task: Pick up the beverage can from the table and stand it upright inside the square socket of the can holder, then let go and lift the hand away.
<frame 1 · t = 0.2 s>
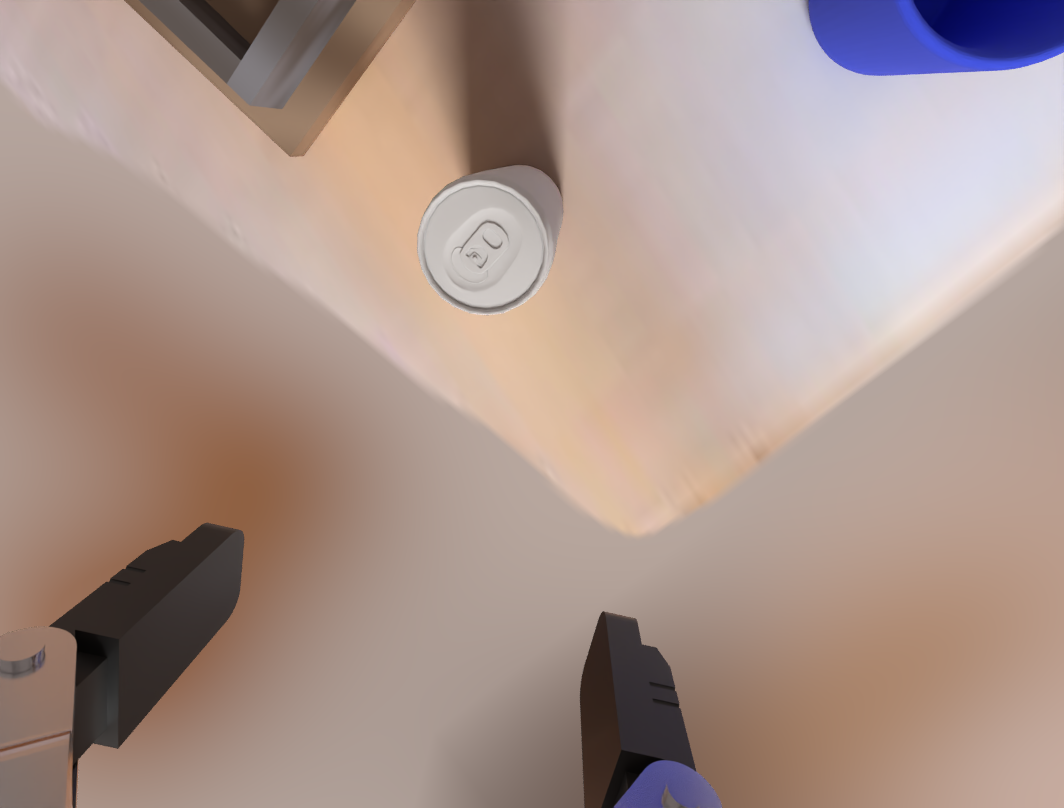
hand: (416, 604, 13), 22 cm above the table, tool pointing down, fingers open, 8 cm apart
beverage can: (519, 212, 31), on the table
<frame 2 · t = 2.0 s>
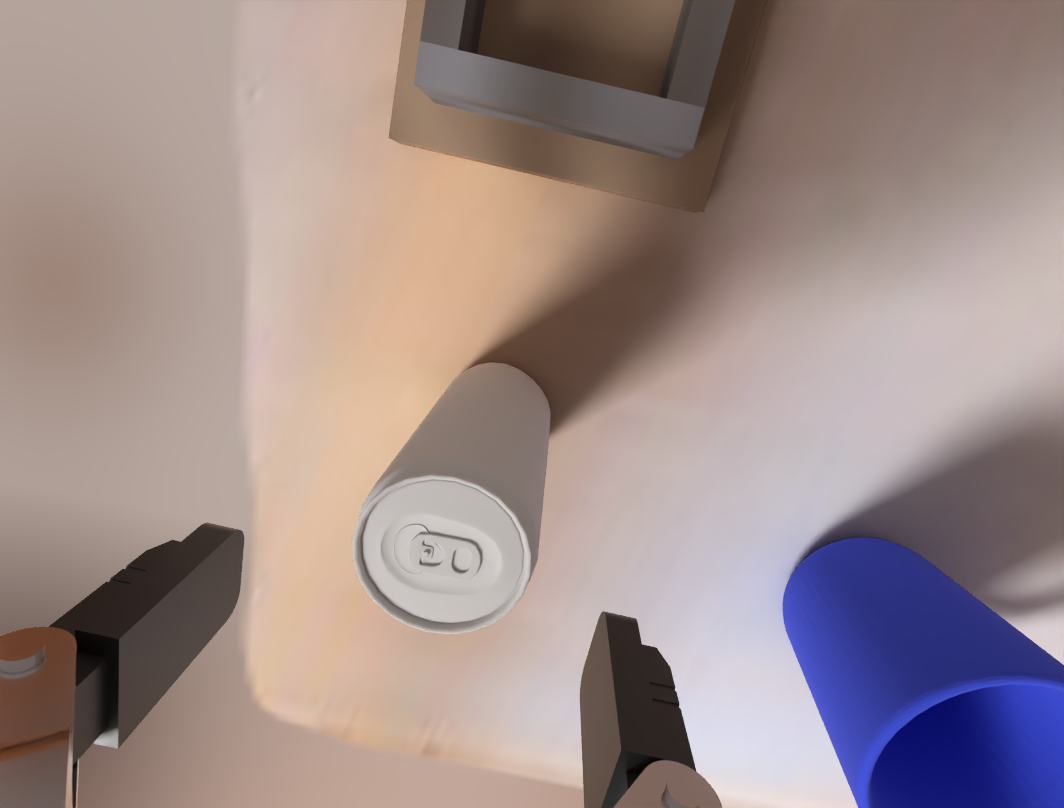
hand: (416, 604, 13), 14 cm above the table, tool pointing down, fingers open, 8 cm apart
beverage can: (498, 410, 26), on the table
can holder: (584, 5, 21), on the table
mug: (884, 600, 28), on the table
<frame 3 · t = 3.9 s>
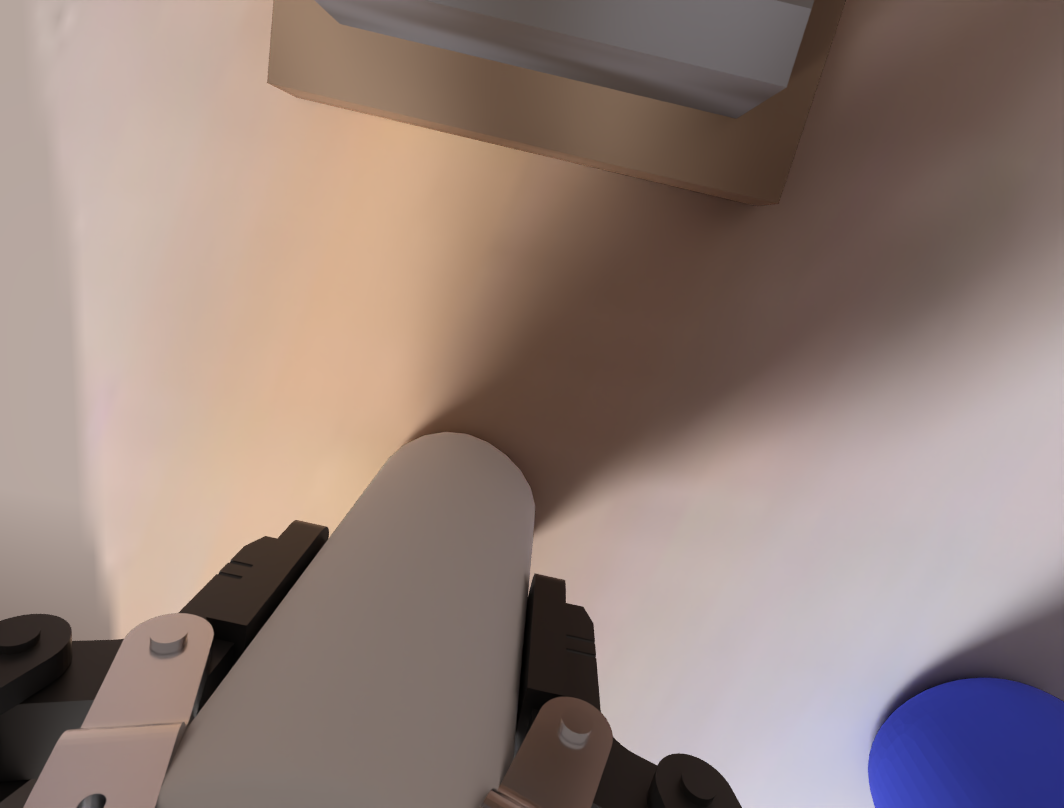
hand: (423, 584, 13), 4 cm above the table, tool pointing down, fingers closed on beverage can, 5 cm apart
beverage can: (458, 496, 18), on the table, touching gripper
mug: (1007, 755, 20), on the table
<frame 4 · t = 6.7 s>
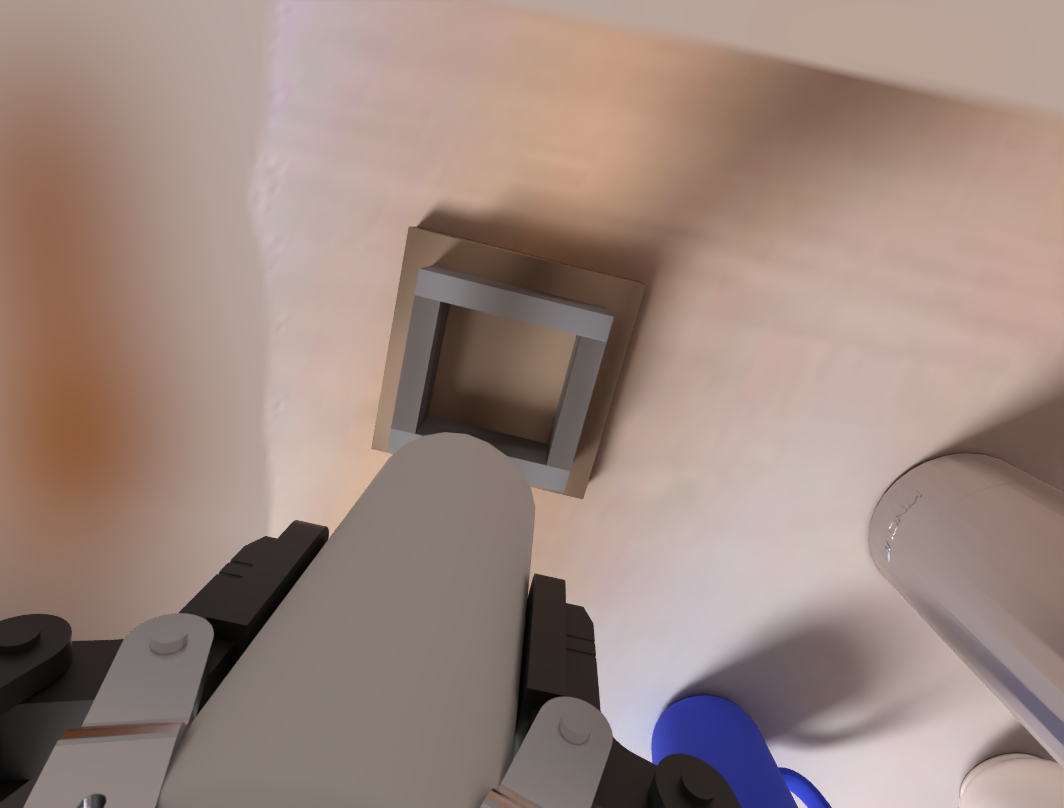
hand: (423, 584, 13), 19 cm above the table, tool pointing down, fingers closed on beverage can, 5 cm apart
lidded jar: (1005, 785, 39), on the table
beverage can: (458, 497, 18), point 15 cm above the table, touching gripper
can holder: (504, 365, 32), on the table
mug: (727, 734, 39), on the table
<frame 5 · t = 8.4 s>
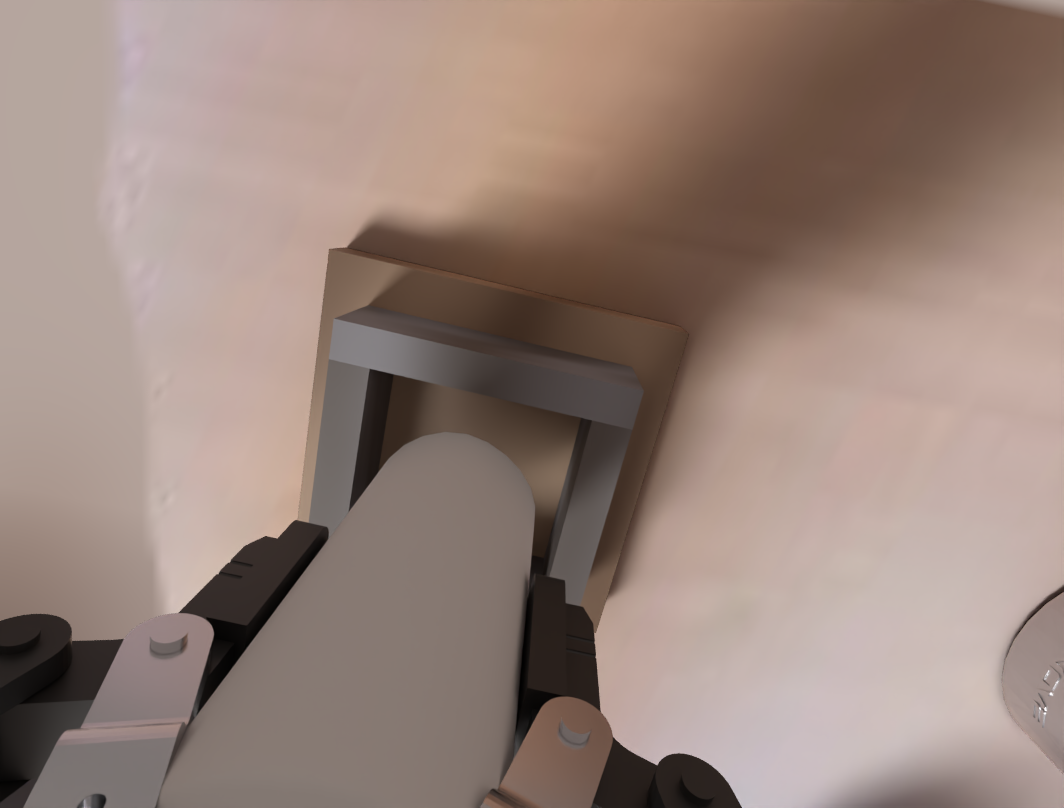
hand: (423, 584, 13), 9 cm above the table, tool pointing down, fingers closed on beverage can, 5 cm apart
beverage can: (458, 496, 18), point 4 cm above the table, touching gripper
can holder: (480, 443, 22), on the table
when the fingers open (7 cm above the table, at t = 9.6 s): beverage can stays where it is, resting on can holder.
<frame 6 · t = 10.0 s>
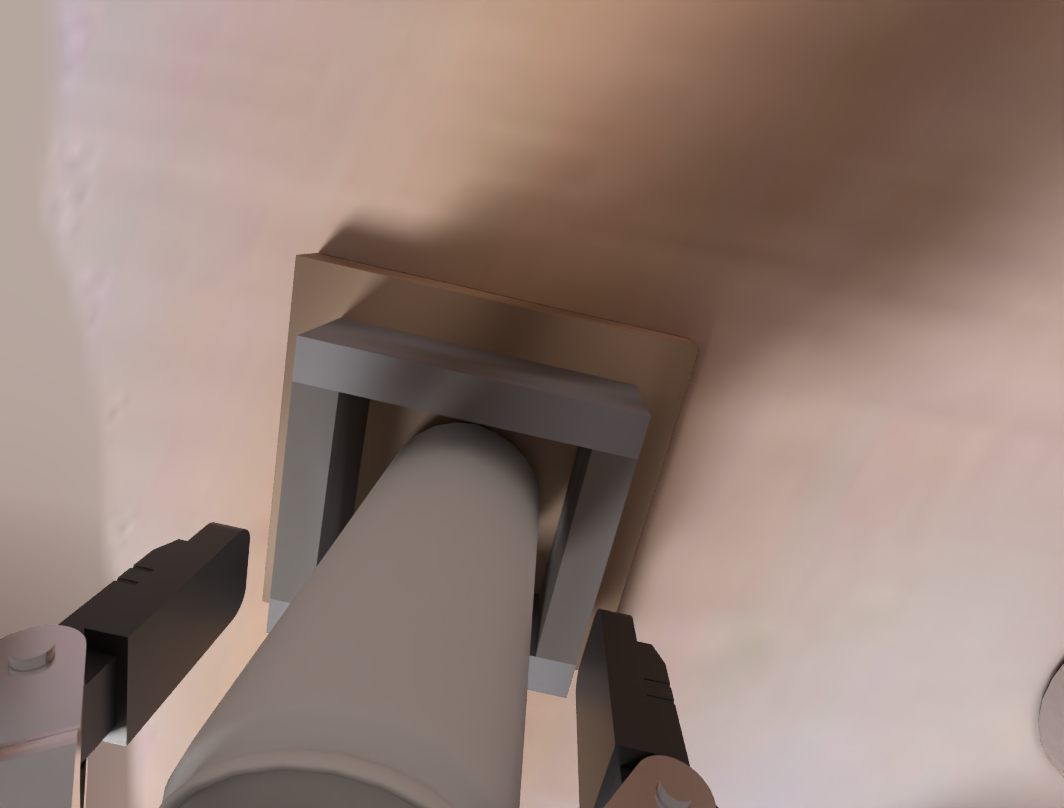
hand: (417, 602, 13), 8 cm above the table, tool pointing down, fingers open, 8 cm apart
beverage can: (467, 484, 19), point 1 cm above the table, touching can holder
can holder: (468, 467, 20), on the table
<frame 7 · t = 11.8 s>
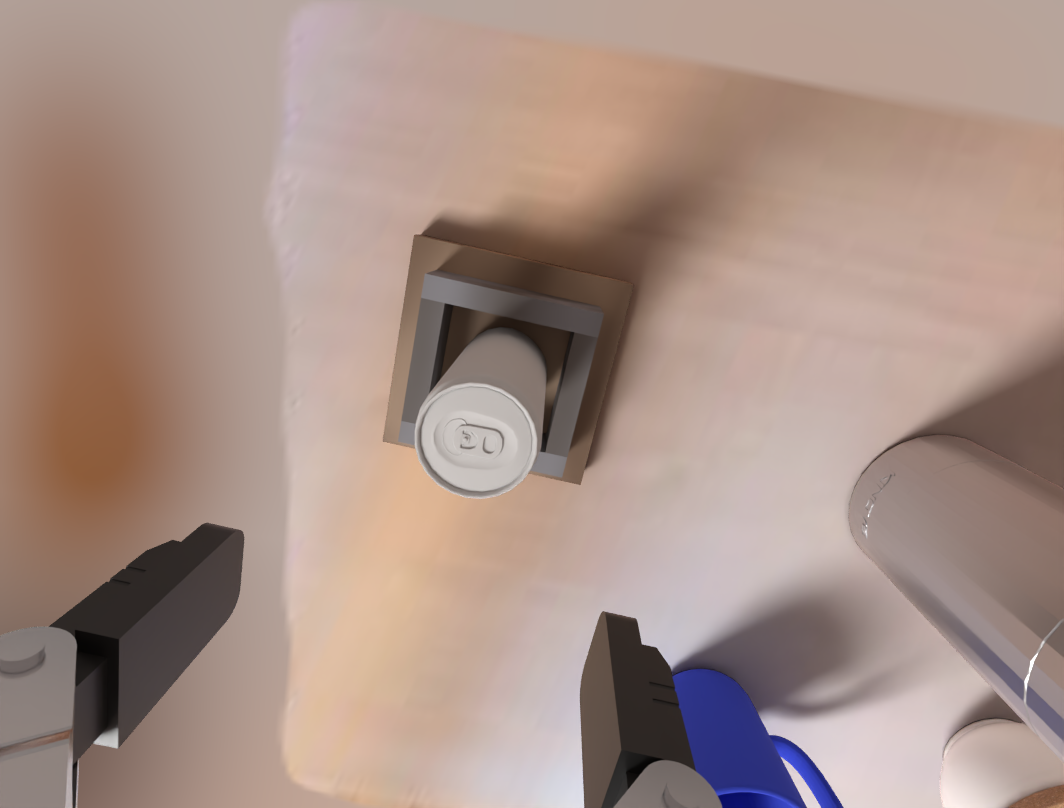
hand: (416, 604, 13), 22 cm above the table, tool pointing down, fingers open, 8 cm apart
lidded jar: (985, 750, 41), on the table
beverage can: (505, 367, 33), point 1 cm above the table, touching can holder
can holder: (504, 361, 34), on the table
mug: (721, 706, 41), on the table
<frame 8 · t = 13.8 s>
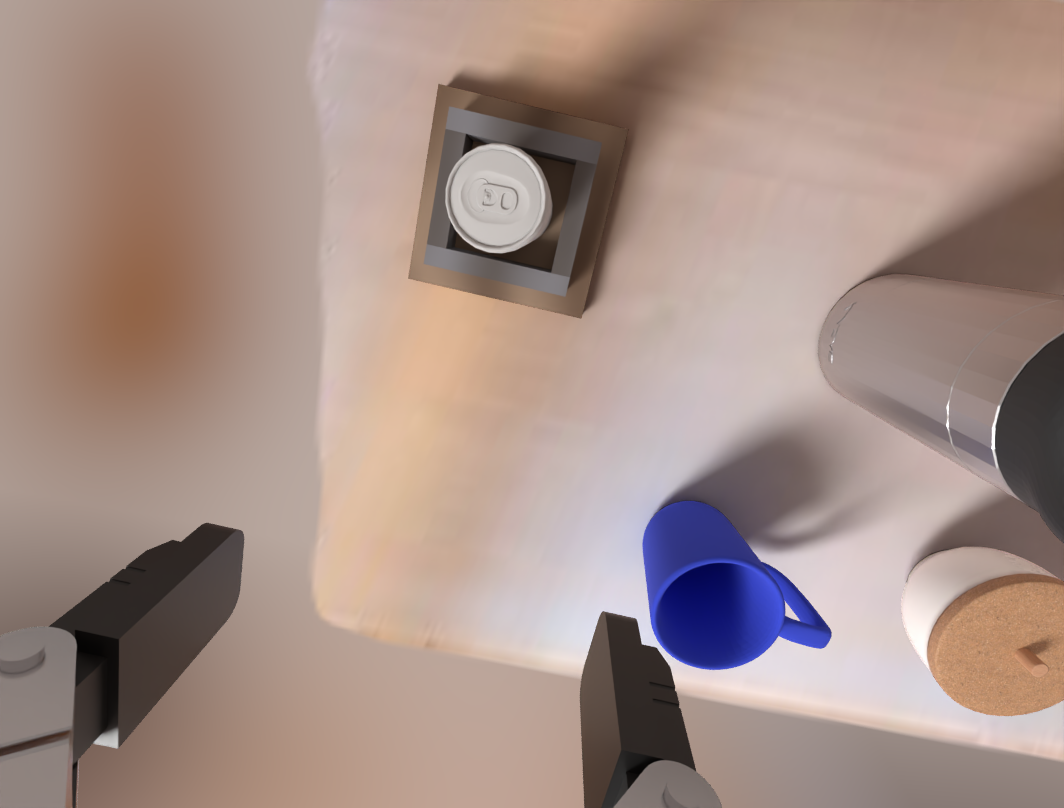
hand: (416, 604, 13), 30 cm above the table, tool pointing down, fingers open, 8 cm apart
lidded jar: (944, 582, 46), on the table
beverage can: (516, 208, 38), point 1 cm above the table, touching can holder
can holder: (515, 207, 39), on the table
mug: (707, 540, 46), on the table
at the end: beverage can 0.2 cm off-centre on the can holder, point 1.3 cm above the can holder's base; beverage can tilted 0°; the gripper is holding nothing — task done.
